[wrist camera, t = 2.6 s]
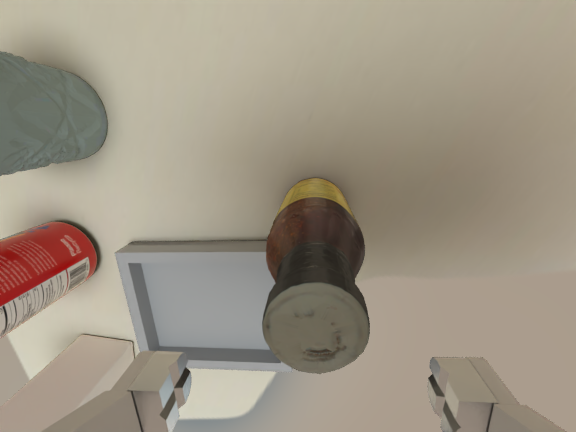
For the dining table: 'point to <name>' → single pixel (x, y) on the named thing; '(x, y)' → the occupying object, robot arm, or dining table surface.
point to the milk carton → (67, 383)
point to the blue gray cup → (46, 116)
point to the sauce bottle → (315, 281)
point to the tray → (201, 301)
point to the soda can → (41, 270)
